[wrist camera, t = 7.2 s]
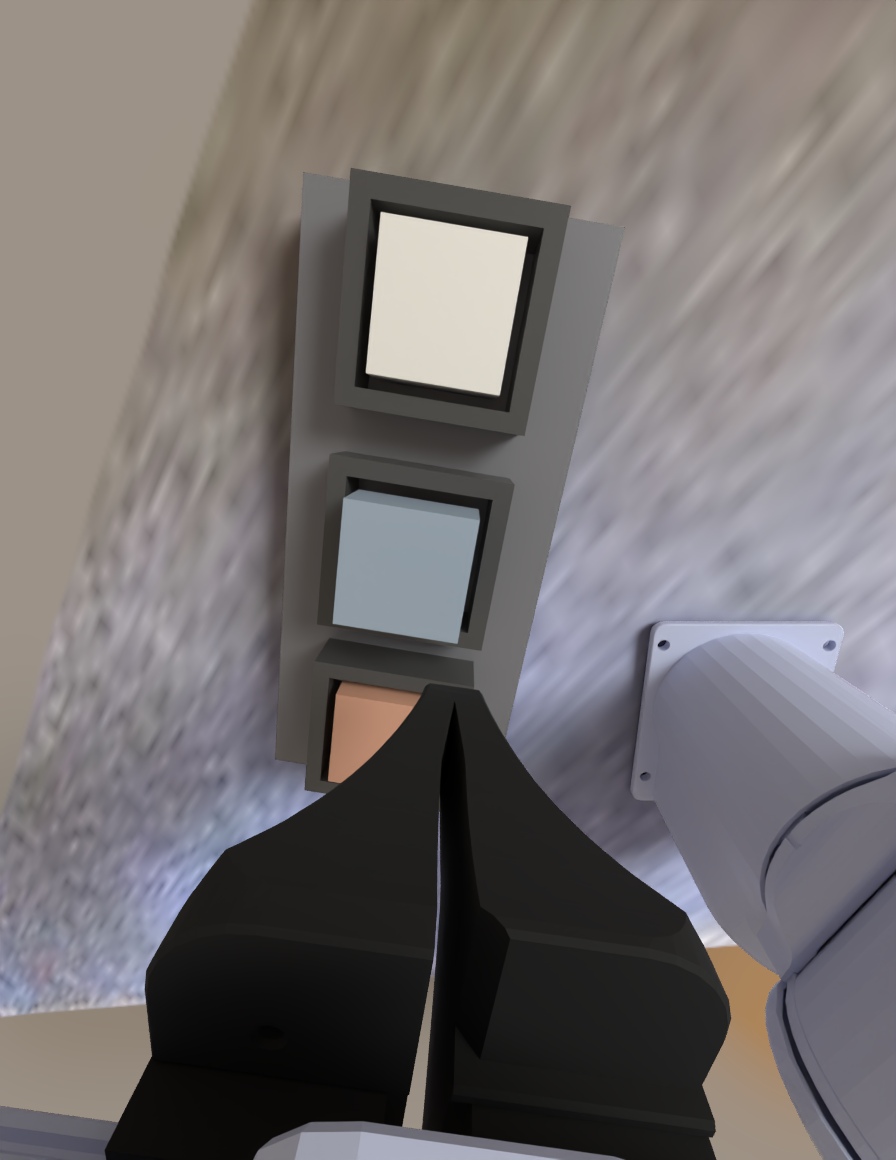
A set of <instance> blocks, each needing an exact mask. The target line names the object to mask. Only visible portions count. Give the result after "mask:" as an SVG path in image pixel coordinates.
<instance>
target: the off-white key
mask: <svg viewBox="0 0 896 1160" xmlns="http://www.w3.org/2000/svg"><path fill="white" fill-rule="evenodd" d="M527 241H528V237H525V236H519V235H513V234H507V233H501V232H496V231H490V230H484V229H478V228H472V227H466V226H460V225H455V224H449V223H443V222H437V221H431V220H425V219H419V218H414V217H408V216H402V215H396V214H390V213H384V212H381V215H380V226H379V237H378V247H377V258H376V269H375V280H374V290H373V301H372V312H371V323H370V333H369V344H368V355H367V366H366V373H367V374H368V375H370V376H372V377H374V378H376V379H377V380H381V381H387V382H393V383H399V384H405V385H411V386H417V387H423V388H429V389H435V390H441V391H447V392H453V393H459V394H465V395H471V396H477V397H483V398H489V399H495V400H496V399H497V398H498V397H499V396H500V391H501V386H502V380H503V375H504V369H505V364H506V358H507V352H508V347H509V341H510V336H511V330H512V325H513V319H514V313H515V308H516V302H517V297H518V291H519V286H520V280H521V275H522V269H523V263H524V258H525V252H526V247H527Z"/></svg>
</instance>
